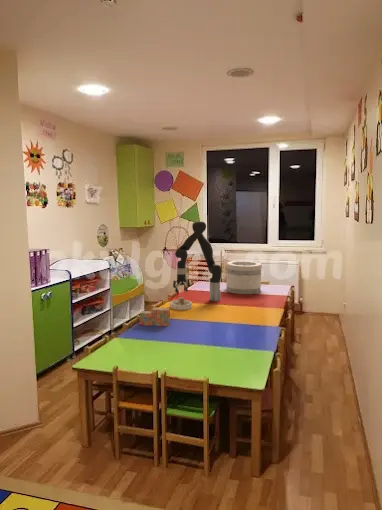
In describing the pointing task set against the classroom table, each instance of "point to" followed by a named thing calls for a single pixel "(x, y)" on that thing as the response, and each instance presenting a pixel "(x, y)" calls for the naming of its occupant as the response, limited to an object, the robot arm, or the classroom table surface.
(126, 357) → the classroom table surface
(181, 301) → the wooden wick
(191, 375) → the classroom table surface
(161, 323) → the stack of blocks
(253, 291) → the storage basket
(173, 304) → the grey ring
